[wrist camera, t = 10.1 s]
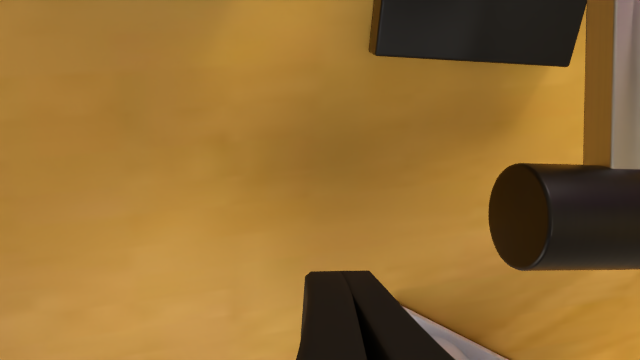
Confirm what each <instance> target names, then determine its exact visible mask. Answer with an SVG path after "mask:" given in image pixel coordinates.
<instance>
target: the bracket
mask: <svg viewBox="0 0 640 360" xmlns="http://www.w3.org/2000/svg"><path fill="white" fill-rule="evenodd" d="M586 4H587V0H374V8H373V17H372V26H371V36H370V45H369V52H371V53H373V54H374V55H376V56H388V57H405V58H422V59H439V60H456V61H473V62H490V63H507V64H524V65H541V66H558V67H568V66H569V64H570V60H571V57H572V53H573V50H574V46H575V43H576V39H577V36H578V32H579V29H580V25H581V21H582V18H583V14H584V11H585V7H586Z"/></svg>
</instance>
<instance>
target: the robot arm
mask: <svg viewBox="0 0 640 360" xmlns="http://www.w3.org/2000/svg"><path fill="white" fill-rule="evenodd" d="M296 360H508V359H506V358H504V357H502V356H500V355H498V354H496V353H494V352H492V351H490V350H488V349H486V348H484V347H483V346H481V345H479V344H477V343H475V342H473V341H471V340H469V339H467V338H465V337H463V336H461V335H459V334H457V333H455V332H453V331H451V330H449V329H447V328H445V327H443V326H441V325H439V324H437V323H435V322H433V321H431V320H429V319H427V318H425V317H423V316H421V315H419V314H417V313H415V312H413V311H411V310H409V309H407V308H405V307H403V306H401V305H400V304H399V302H398V301H397V300H396V299H395V298H394V297H393V296H392V295H391V294H390V293H389V292H388V290H387V289H386V288H385V287H384V286H383V285H382V284H381V283H380V282H379V281H378V280H377V279H376V278H375V276H374V275H373V274H372V273H371V272H370V271H319V272H310V273H309V274H308V275H306V276H305V286H304V300H303V314H302V328H301V342H300V347H299V351H298V355H297V358H296Z"/></svg>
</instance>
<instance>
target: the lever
mask: <svg viewBox="0 0 640 360" xmlns="http://www.w3.org/2000/svg"><path fill="white" fill-rule="evenodd" d="M489 227H490V232H491V237H492V240H493V243H494V245H495V248H496V250H497V252H498V253H499V255H500V257H501V258H502V259H503V260H504V261H505V262H506V263H507V264H508V265H509V266H511V267H513V268H515V269H517V270H521V271H542V270H626V269H640V0H587V14H586V57H585V101H584V145H583V165H569V164H529V163H518V164H514V165H511V166H509V167H507V168H506V169H505V170H504V171H502V173H501V174H500V175H499V177H498V178H497V180H496V182H495V184H494V186H493V189H492V192H491V196H490V202H489Z"/></svg>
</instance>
